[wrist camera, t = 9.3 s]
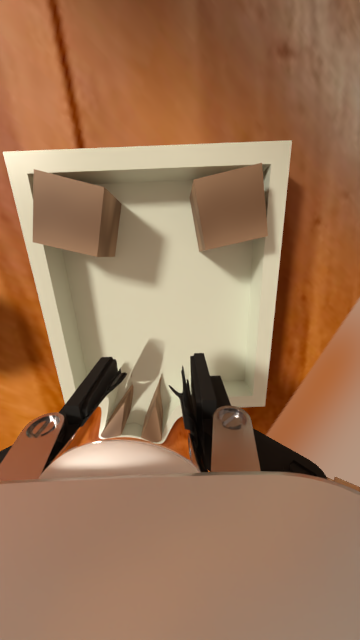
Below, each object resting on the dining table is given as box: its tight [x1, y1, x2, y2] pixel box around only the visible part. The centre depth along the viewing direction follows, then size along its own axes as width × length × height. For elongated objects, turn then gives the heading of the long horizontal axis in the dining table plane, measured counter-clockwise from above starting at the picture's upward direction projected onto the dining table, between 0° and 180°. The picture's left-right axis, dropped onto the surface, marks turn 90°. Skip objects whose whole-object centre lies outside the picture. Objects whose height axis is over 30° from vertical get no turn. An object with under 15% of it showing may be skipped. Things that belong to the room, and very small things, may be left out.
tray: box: [3, 140, 292, 407], centre depth 17 cm, size 20×18×3 cm
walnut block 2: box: [190, 163, 268, 252], centre depth 14 cm, size 4×4×4 cm
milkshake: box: [38, 337, 208, 479], centre depth 8 cm, size 4×5×10 cm
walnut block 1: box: [33, 169, 122, 257], centre depth 14 cm, size 4×4×4 cm
